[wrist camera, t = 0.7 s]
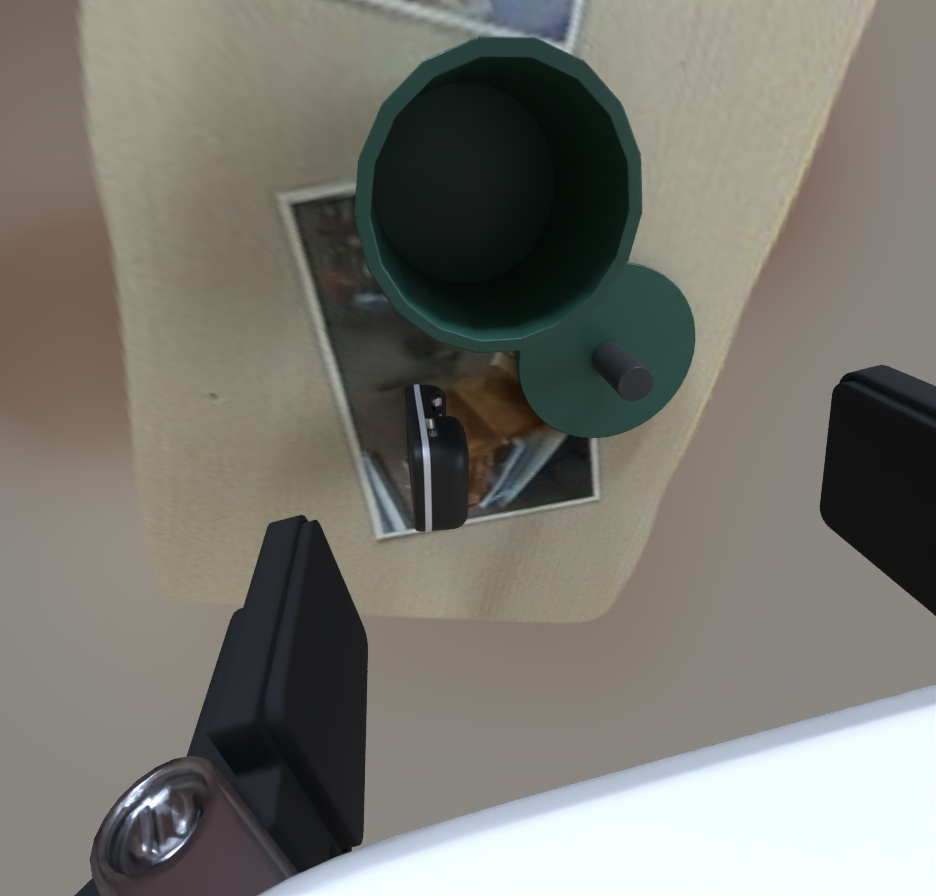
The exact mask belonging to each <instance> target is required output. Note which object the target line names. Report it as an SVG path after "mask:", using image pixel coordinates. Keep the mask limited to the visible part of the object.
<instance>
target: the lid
mask: <svg viewBox="0 0 936 896" xmlns="http://www.w3.org/2000/svg"><path fill="white" fill-rule="evenodd" d="M694 346H695V326H694V319H693V315H692V312H691V309H690V306H689V304H688V302H687V300H686V298H685V297H684V295H683V294H682V292H681V291H680V289H679V288H678V287H677V286H676V285H675V284H674V283H673V282H672V281H671V280H669V279H668V278H667V277H666V276H664V275H663V274H661V273H659V272H657V271H655V270H653V269H651V268H649V267H646V266H643V265H640V264H634V263H629V262H627V263H626V265H625V266H624V268H623V269H622V271H621V272H620V274H619V276H618V277H617V279H616V280H615V282H614V283H613V285H612V286H611V288H610V289H609V291H608V292H607V294H606V296H605V297H604V299H603V300H602V302H601V303H600V304H599V305H598V306H597V307H596V308H594V309H593V310H592V311H591V312H590V313H588V314H587V315H586V316H585V317H584V318H582V319H581V320H580V321H579V322H578V323H576V324H575V325H574V326H573V327H572V328H570V329H569V330H568V331H567V332H566V333H563V334H562V335H559V336H557V337H555V338H552V339H550V340H547V341H545V342H542V343H540V344H537V345H535V346H532V347H530V348H527V349H525V350H521V351H518V357H517V371H518V377H519V383H520V386H521V389H522V392H523V394H524V396H525V398H526V400H527V402H528V404H529V405H530V407H531V408H532V410H533V411H534V412H535V413H536V414H537V415H538V417H539V418H540V419H541V420H543V421H544V422H545V423H546V424H548V425H549V426H551V427H552V428H554V429H556V430H558V431H560V432H563V433H565V434H568V435H572V436H576V437H584V438H600V437H608V436H612V435H616V434H620V433H623V432H626V431H628V430H631V429H633V428H635V427H637V426H639V425H641V424H642V423H644V422H645V421H647V420H649V419H650V418H651V417H653V416H654V415H655V414H656V413H658V412H659V411H660V410H661V409H662V408H663V407H664V406H665V405H666V404H667V403H668V402H669V401H670V400H671V398H672V397H673V396H674V395H675V393H676V392H677V390H678V389H679V387H680V386H681V384H682V382H683V380H684V379H685V377H686V375H687V372H688V370H689V367H690V364H691V361H692V357H693V353H694Z"/></svg>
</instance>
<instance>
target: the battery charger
mask: <svg viewBox="0 0 936 896" xmlns="http://www.w3.org/2000/svg"><path fill="white" fill-rule="evenodd" d="M405 400H406V424H407V446H408V462H409V472H410V483H411V494H412V505H413V516H414V525H415V529H416V530H417V531H421V532H422V531H425V533H427V532H432V531H436V530H449V529H456V528H459V527H460V526H462V525H463V524H464V523H465V521H466V519H467V516H468V486H469V454H468V447H467V441H466V436H465V432H464V428H463V426H462V425H461V423H460V421H459V420H458V419H457V418H455V417H452V416H446V400H445V395H444V392H443V391H442V390H441V389H440V388H438V387H435V386H429V385H419V384H414V386H408V387H406V389H405Z"/></svg>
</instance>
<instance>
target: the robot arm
mask: <svg viewBox="0 0 936 896" xmlns="http://www.w3.org/2000/svg"><path fill="white" fill-rule="evenodd" d="M820 512H821V515H822V518H823V520H824V521H825V523H826V524H827V525H828V526H829V527H830V528H831V529H832V530H833V531H834V532H836V533H837V534H838V535H839V536H840V537H842V538H843V539H844V540H845V541H846V542H848V543H849V544H850V545H851V546H852V547H854V548H855V549H856V550H857V551H858V552H860V553H861V554H862V555H863V556H865V557H866V558H867V559H868V560H869V561H871V562H872V563H873V564H874V565H875V566H876V567H878V568H879V569H880V570H881V571H883V572H884V573H885V574H886V575H887V576H889V577H890V578H891V579H892V580H893V581H895V582H896V583H897V584H898V585H899V586H900V587H902V588H903V589H904V590H905V591H906V592H908V593H909V594H910V595H911V596H912V597H914V598H915V599H916V600H917V601H919V602H920V603H921V604H922V605H924V606H925V607H926V608H927V609H928V610H929V611H931V612H932V613H933V614H934V615H935V616H936V386H934V385H932V384H929V383H926V382H924V381H922V380H919V379H917V378H915V377H912V376H910V375H908V374H905V373H903V372H900V371H898V370H896V369H893V368H891V367H889V366H884V365H879V366H874V367H870V368H866V369H862V370H859V371H855V372H851V373H847V374H846V375H844V376H843V377H842V379H841V380H840V383H839V384H838V385H837V386H835V388H834V390H833V393H832V401H831V410H830V420H829V428H828V437H827V446H826V455H825V464H824V474H823V482H822V491H821V500H820ZM367 663H368V643H367V637H366V633H365V629H364V626H363V624H362V622H361V619H360V617H359V615H358V612H357V610H356V608H355V605H354V603H353V601H352V598H351V596H350V594H349V591H348V589H347V586H346V584H345V582H344V579H343V577H342V575H341V572H340V570H339V568H338V565H337V563H336V561H335V558H334V556H333V554H332V551H331V549H330V547H329V544H328V542H327V540H326V537H325V535H324V532H323V530H322V528H321V526H320V524H319V522H318V521H317V520H313V521H309V522H308V520H307V519H306V517H305V516H303V515H299V516H295V517H291V518H287V519H284V520H280V521H276V522H272V523H270V524H269V525H268V527H267V531H266V534H265V537H264V540H263V544H262V547H261V550H260V554H259V557H258V560H257V564H256V567H255V570H254V574H253V577H252V580H251V584H250V587H249V590H248V594H247V597H246V600H245V604H244V607H243V608H241V609H238V610H237V611H236V612H235V613H234V614H233V616H232V618H231V620H230V623H229V626H228V629H227V632H226V636H225V639H224V642H223V645H222V648H221V651H220V654H219V657H218V660H217V664H216V667H215V670H214V673H213V676H212V679H211V682H210V685H209V689H208V692H207V695H206V698H205V701H204V704H203V707H202V710H201V713H200V717H199V720H198V723H197V726H196V729H195V732H194V735H193V739H192V741H191V745H190V748H189V751H188V754H187V757H182V758H177V759H173V760H171V761H169V762H167V763H165V764H162V765H160V766H158V767H156V768H154V769H153V770H151V771H150V772H148V773H147V774H146V775H144V776H143V777H141V778H140V779H139V780H137V781H136V782H135V783H134V784H133V785H132V786H131V787H130V788H129V789H128V790H127V791H126V792H125V793H124V794H123V795H122V796H121V797H120V798H119V799H118V800H117V802H116V803H115V804H114V806H113V807H112V808H111V810H110V811H109V812H108V814H107V815H106V817H105V818H104V820H103V822H102V824H101V826H100V828H99V831H98V832H97V834H96V836H95V838H94V843H93V847H92V851H91V856H90V864H91V871H92V877H93V878H92V879H91V880H90V881H89V882H88V883H87V884H86V885H85V886H84V887H83V888H82V889H81V890H80V891H79V892H78V893H77V894H76V895H75V896H936V685H932V686H928V687H925V688H921V689H917V690H914V691H910V692H906V693H903V694H899V695H895V696H892V697H888V698H884V699H881V700H877V701H873V702H869V703H865V704H862V705H858V706H854V707H851V708H847V709H843V710H840V711H836V712H832V713H829V714H825V715H821V716H818V717H814V718H810V719H807V720H803V721H799V722H796V723H792V724H788V725H785V726H781V727H777V728H774V729H770V730H766V731H763V732H759V733H756V734H752V735H748V736H745V737H741V738H737V739H734V740H730V741H726V742H722V743H719V744H715V745H711V746H708V747H704V748H701V749H697V750H693V751H690V752H686V753H683V754H679V755H675V756H672V757H668V758H665V759H661V760H657V761H654V762H650V763H647V764H643V765H640V766H636V767H632V768H629V769H625V770H621V771H618V772H615V773H611V774H608V775H603V776H600V777H596V778H593V779H589V780H586V781H582V782H579V783H575V784H572V785H568V786H564V787H560V788H557V789H554V790H550V791H546V792H542V793H539V794H535V795H532V796H528V797H525V798H521V799H518V800H514V801H511V802H507V803H504V804H501V805H497V806H494V807H491V808H487V809H484V810H481V811H477V812H474V813H471V814H467V815H464V816H460V817H457V818H454V819H450V820H447V821H444V822H440V823H437V824H433V825H431V826H427V827H424V828H420V829H417V830H413V831H410V832H407V833H403V834H400V835H397V836H394V837H391V838H389V839H386V840H383V841H380V842H377V843H374V844H371V845H368V846H366V847H363V848H360V849H357V850H354V851H352V847H355V846H358V845H360V844H361V843H362V839H363V831H364V791H365V789H364V787H365V749H366V709H367V667H368V665H367Z"/></svg>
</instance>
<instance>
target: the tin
mask: <svg viewBox="0 0 936 896" xmlns="http://www.w3.org/2000/svg"><path fill="white" fill-rule="evenodd" d="M640 156H641V154H640V151H639V149H638V146H637V143H636V140H635V138H634V135H633V132H632V130H631V127H630V124H629V121H628V119H627V116H626V113H625V110H624V108H623V105H621V102H620V101H619V100H618V98H617V97H616V96H615V95H614V94H613V93H612V92H611V90H610V89H609V88H608V87H607V86H606V85H605V84H604V82H603V81H602V80H601V79H600V78H599V77H598V75H597V74H596V73H595V72H594V71H593V70H592V69H591V67H590V66H589V65H588V64H587V63H585V61H584V60H581V59H579V58H577V57H575V56H573V55H571V54H569V53H567V52H565V51H563V50H561V49H559V48H556V47H554V46H552V45H550V44H548V43H546V42H544V41H542V40H540V39H538V38H534V37H483V36H479V37H478V38H477V37H476V38H474V39H471V40H469V41H467V42H464V43H462V44H460V45H458V46H455V47H453V48H451V49H448V50H446V51H444V52H442V53H439V54H437V55H435V56H432V57H430V58H428V59H426V60H425V61H423V62H422V63H421V64H420V65H419V66H418V67H417V68H416V69H415V70H414V71H413V72H412V73H411V74H410V75H409V76H408V77H407V78H406V79H405V81H404V82H403V83H402V84H401V85H400V86H399V87H398V88H397V89H396V90H395V91H394V92H393V93H392V94H391V95H390V96H389V97H388V98H387V99H386V100H385V101H384V102H383V105H381V108H380V110H379V112H378V115H377V117H376V119H375V122H374V124H373V126H372V129H371V131H370V133H369V136H368V138H367V140H366V143H365V145H364V147H363V150H362V152H361V154H360V157H359V160H358V171H357V186H356V200H355V214H354V216H355V222H356V226H357V230H358V233H359V237H360V241H361V245H362V248H363V252H364V256H365V260H366V264H367V267H368V269H369V272H370V273H371V275H372V276H373V278H374V279H375V281H376V282H377V284H378V285H379V287H380V288H381V290H382V291H383V293H384V294H385V296H386V297H387V299H388V300H389V302H390V303H391V305H392V306H393V308H394V309H395V311H397V313H398V314H400V315H401V316H402V317H404V318H405V319H406V320H408V321H409V322H410V323H412V324H413V325H414V326H416V327H417V328H419V329H420V330H421V331H423V332H424V333H425V334H427V335H428V336H429V337H431V338H432V339H435V340H436V341H439V342H442V343H445V344H449V345H452V346H455V347H459V348H462V349H465V350H469V351H472V352H475V353H477V352H478V353H487V352H506V351H521V350H525V349H527V348H530V347H532V346H535V345H537V344H540V343H542V342H545V341H547V340H550V339H552V338H555V337H557V336H559V335H562V334H563V333H566V332H567V331H568V330H569V329H570V328H572V327H573V326H574V325H575V324H576V323H578V322H579V321H580V320H581V319H582V318H584V317H585V316H586V315H587V314H588V313H590V312H591V311H592V310H593V309H594V308H596V307H597V306H598V305H599V304H600V303H601V302H602V300H603V299H604V297H605V296H606V294H607V292H608V291H609V289H610V288H611V286H612V285H613V283H614V282H615V280H616V279H617V277H618V276H619V274H620V272H621V271H622V269H623V268H624V266H625V265H626V263H627V261H628V260H629V256H630V253H631V249H632V246H633V242H634V239H635V235H636V232H637V228H638V225H639V221H640V218H641V215H642V211H641V210H642V175H641V157H640Z"/></svg>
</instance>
